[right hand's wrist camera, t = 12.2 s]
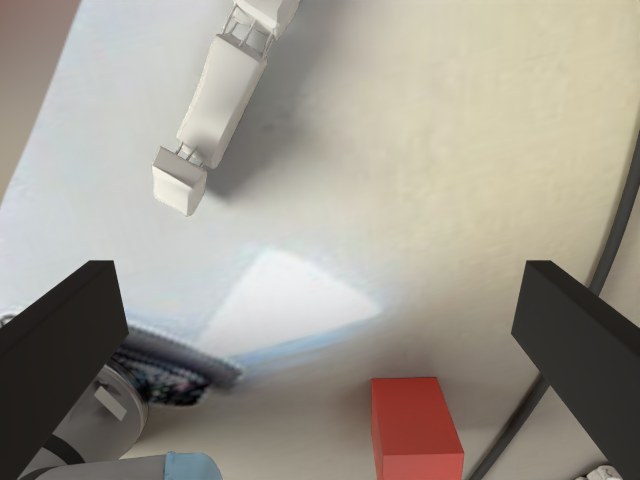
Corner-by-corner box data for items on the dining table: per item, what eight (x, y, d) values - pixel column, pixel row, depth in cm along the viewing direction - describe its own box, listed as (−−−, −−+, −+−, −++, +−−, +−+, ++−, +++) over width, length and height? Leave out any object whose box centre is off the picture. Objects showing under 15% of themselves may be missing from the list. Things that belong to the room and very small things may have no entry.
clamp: (196, 213, 35) (172, 235, 29) (157, 193, 35) (124, 210, 28) (308, -4, 31) (310, -36, 24) (266, -33, 30) (255, -74, 23)
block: (432, 432, 46) (457, 515, 37) (371, 434, 46) (381, 517, 37) (436, 377, 43) (464, 453, 34) (371, 378, 43) (382, 455, 34)
